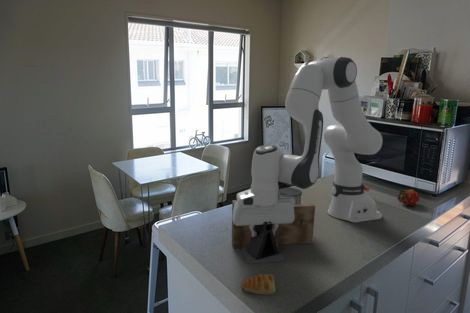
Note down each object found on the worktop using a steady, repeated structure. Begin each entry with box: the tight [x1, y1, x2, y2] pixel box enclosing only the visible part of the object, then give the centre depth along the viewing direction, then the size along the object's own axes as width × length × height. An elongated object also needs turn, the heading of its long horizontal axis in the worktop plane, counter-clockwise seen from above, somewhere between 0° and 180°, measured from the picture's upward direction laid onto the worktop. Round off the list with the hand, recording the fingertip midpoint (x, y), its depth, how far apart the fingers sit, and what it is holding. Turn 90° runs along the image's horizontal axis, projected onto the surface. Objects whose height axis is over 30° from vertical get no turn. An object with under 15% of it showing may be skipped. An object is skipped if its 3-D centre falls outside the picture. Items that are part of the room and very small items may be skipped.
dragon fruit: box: [397, 188, 420, 207], centre depth 161 cm, size 8×8×12 cm
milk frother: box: [278, 187, 303, 204], centre depth 132 cm, size 14×16×15 cm
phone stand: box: [247, 222, 280, 260], centre depth 112 cm, size 9×6×12 cm, turn 118°
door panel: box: [231, 199, 316, 249], centre depth 119 cm, size 29×5×16 cm, turn 99°
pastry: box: [240, 273, 276, 295], centre depth 95 cm, size 9×7×4 cm
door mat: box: [241, 245, 285, 264], centre depth 114 cm, size 12×11×1 cm
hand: (262, 235), depth 112 cm, fingers open, 5 cm apart
